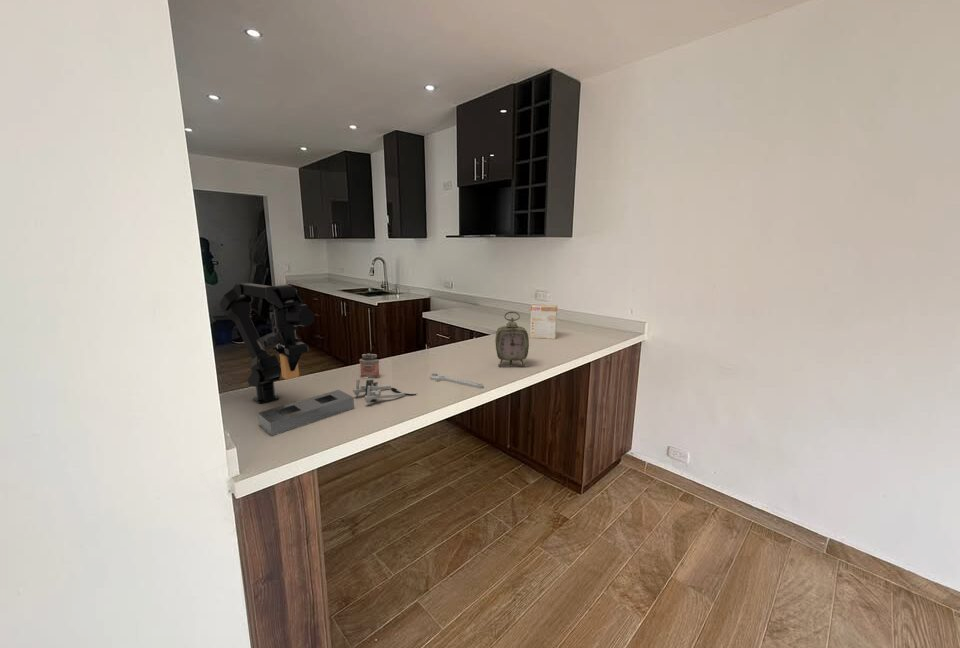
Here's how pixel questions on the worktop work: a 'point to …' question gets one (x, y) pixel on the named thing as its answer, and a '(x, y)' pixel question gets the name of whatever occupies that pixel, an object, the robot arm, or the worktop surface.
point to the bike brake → (372, 392)
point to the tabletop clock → (512, 342)
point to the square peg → (287, 368)
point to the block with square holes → (304, 411)
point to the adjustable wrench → (454, 380)
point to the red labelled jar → (369, 366)
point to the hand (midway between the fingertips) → (289, 369)
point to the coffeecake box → (543, 321)
